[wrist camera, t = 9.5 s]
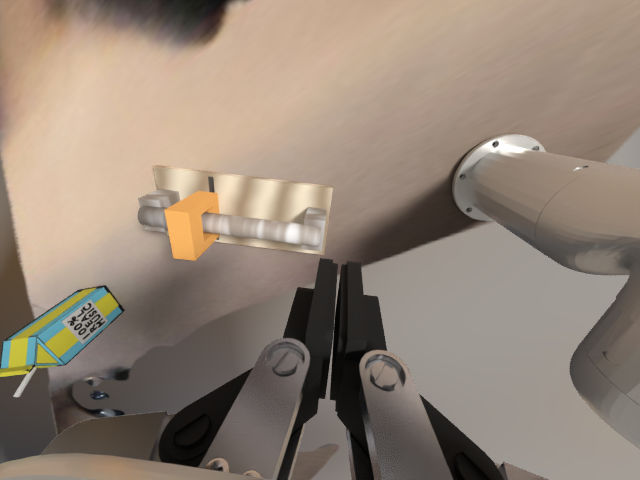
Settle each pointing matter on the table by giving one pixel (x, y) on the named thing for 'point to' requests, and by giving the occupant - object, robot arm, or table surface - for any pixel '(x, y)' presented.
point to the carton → (59, 333)
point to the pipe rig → (245, 208)
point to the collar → (191, 225)
